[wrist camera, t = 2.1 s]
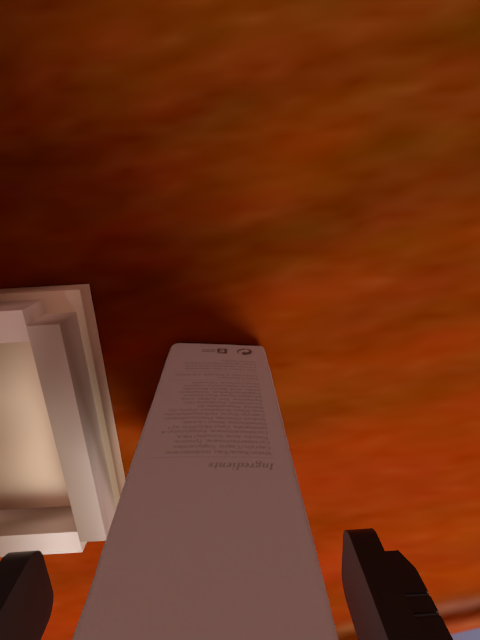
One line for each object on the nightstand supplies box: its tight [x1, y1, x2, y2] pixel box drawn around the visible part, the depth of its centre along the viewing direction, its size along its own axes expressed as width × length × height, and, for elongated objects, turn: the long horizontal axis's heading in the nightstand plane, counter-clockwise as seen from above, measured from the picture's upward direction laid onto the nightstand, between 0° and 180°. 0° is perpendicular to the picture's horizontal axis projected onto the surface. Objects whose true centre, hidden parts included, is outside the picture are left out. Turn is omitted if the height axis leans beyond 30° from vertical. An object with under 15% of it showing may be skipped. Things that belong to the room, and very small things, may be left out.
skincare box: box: [72, 343, 338, 640], centre depth 11 cm, size 6×4×12 cm
